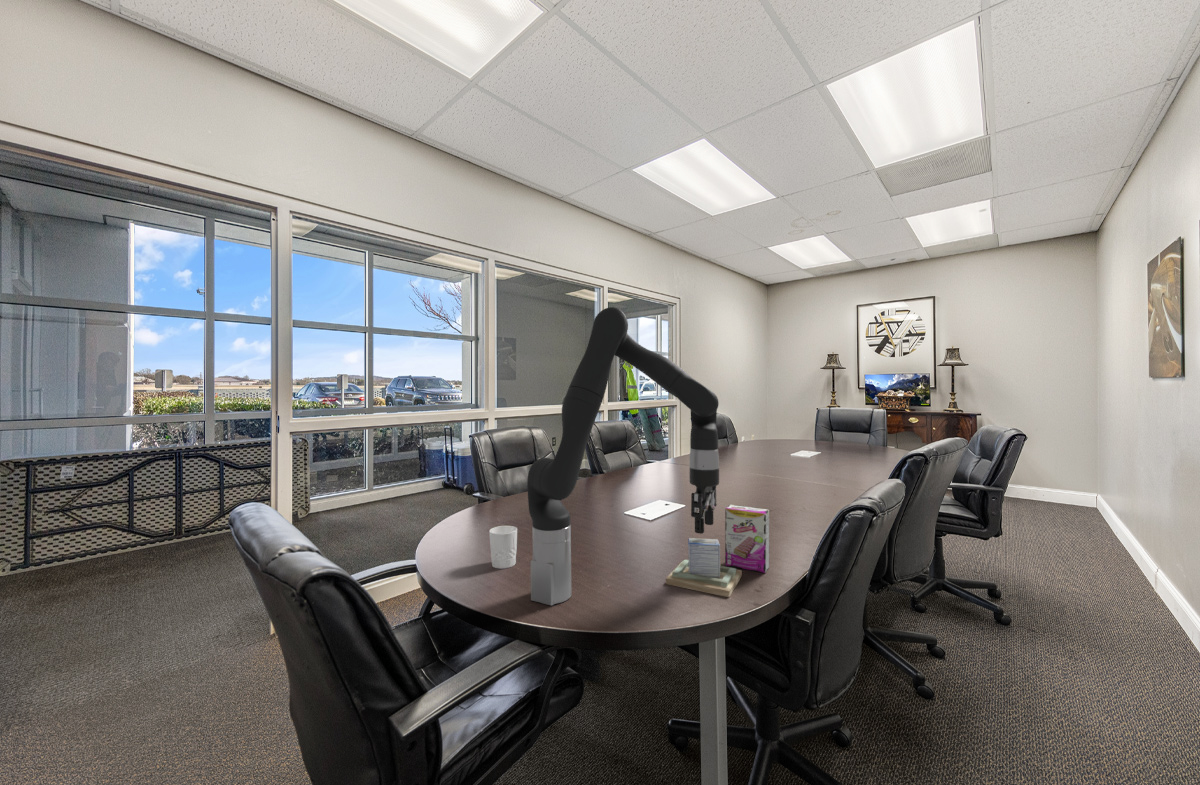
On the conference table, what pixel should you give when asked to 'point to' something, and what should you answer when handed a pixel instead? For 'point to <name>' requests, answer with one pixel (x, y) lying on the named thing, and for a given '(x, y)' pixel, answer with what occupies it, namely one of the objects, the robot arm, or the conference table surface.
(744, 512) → the candy bar box
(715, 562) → the medicine box
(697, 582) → the locating plate
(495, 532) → the white cup
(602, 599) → the conference table surface
